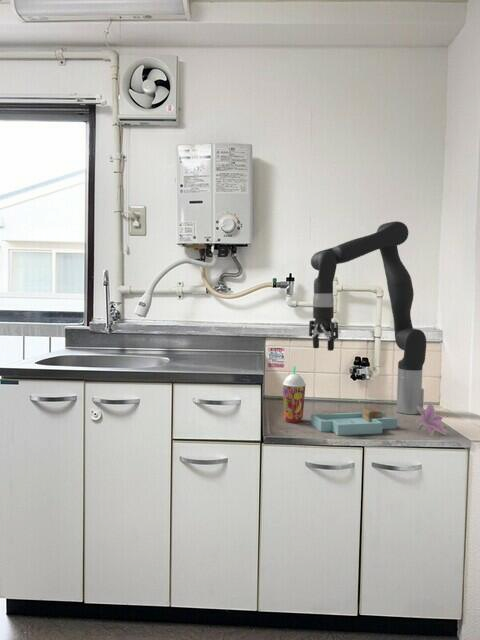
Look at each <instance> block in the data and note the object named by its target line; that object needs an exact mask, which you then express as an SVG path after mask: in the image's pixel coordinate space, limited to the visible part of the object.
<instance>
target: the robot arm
mask: <svg viewBox="0 0 480 640" xmlns="http://www.w3.org/2000/svg"><path fill="white" fill-rule="evenodd" d="M408 236H409V228H408V226H407V224H405V223H404V222H402V221H398V220H397V221H390V222H385V223H382V224H380V225H379V226H378V228H377V229H376V232H374V233H371V234H369V235H365V236H361V237H357V238H354V239H351V240H349V241H346V242H343V243H340V244H338V245H336V246H332V247H330V248H326V249H323V250H320V251H317V252H315V253H314V254H313V255H312V256H311V259H310V265H311V267H312V268H313V269H314V270H316V271H318V276H317V277H316V278H315V279H314V280H313V296H312V297H313V298H312V310H313V311H312V318H313V319H314V320H309V327H308V328H309V329H308V336H309V337H311V338H312V346H313V347H312V348H313V349H319V348H320V336H321V334H324V336H325V337H326V338H327V351H329V352H330V351H334V348H335V340H338V339H339V323H338V322H337V321H334V322H333V321H332V320H333V319H334V315H335V313H334V311H335V305H334V300H335V299H334V280H335V275H336V271H337V265H339V264H345V263H348V262H350V261H353V260H355V259H358V258H360V257H363V256H365V255H367V254H369V253H372V252H375V251H378V250H379V251H380V256H381V258H382V263H383V268H384V274H385V277H386V279H385V280H386V284H387V291H388V295H389V296H388V297H389V300H390V306H391V312H392V317H393V326H394V328H393V329H394V339H395V344H396V345H397V347H398V348H399V349H400V350H401V351H403V357H402V359H400V360H399V361H398V362H397V384H396V385H397V387H396V406H395V407H396V413H397V412H398V413H400V414H405V415H419V414H420V415H421V413H420V412H419V410H418V408H417V406H419V407H421V408H423V409H424V396H425V389H424V388H422V387H423V369H424V368H423V366H424V364H425V362H426V352H427V337H426V334H425V333H424V331H422V330H421V329H418V328H414V327H413V324H412V322H413V321H412V318H411V311H412V307H413V302H414V295H415V294H414V293H415V292H414V287H413V282H412V277H411V274H410V273H409V271H408V269H407V268H406V267H405V265H404V263H403V262H402V260H401V257H400V255H399V250H398V246H401V245H402V244H404V243H406V240H407V239H408Z"/></svg>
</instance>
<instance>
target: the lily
mask: <svg viewBox="0 0 480 640" xmlns="http://www.w3.org/2000/svg"><path fill="white" fill-rule="evenodd" d="M417 408H418V410H419V412H420V417H418V419H417V420H416V423H418V424H419V425H420V427H419V429H418V431H420V430H421V429H422V427H423V426H425V427H426V428H427V431H428V435H429V437H430V436H431V437H432V436H433V434H434V431H437V432H439V433H440V434H442V435H445V436H446V435H447V433H446V429H445V428H444V426H443V425H442V424H441V421H442V420H443V416H441V415H440V414H436V409H435V407H434V405H433V402H432V401H429V402H428V405H426V408H425V409H424V407H423V408H421V407H419V406H417Z"/></svg>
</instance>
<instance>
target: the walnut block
mask: <svg viewBox="0 0 480 640" xmlns="http://www.w3.org/2000/svg"><path fill="white" fill-rule="evenodd" d="M382 412H383V410H380V409H378V408H373V407H372V408H362V413H363V414H362V418H363V419H364V420H366V421H368V422H372V419H378V418H382Z"/></svg>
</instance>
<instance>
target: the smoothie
mask: <svg viewBox="0 0 480 640" xmlns="http://www.w3.org/2000/svg"><path fill="white" fill-rule="evenodd" d="M305 382H306V381H305V380H304V379H303V377H302V376H301V375H299V374H297V373H296V366H295V365H294V366H293V373H291V374H289V375H287V376H286V377H285V378H284V381H283V382H282V401H283V418H284V421H285V422H286V423H292V424H297V423H301V422H302V420H303V419H304V418H303V417H304V409H305V407H304V406H305V398H306V397H305V394H306V385H307V384H306V383H305Z"/></svg>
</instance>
